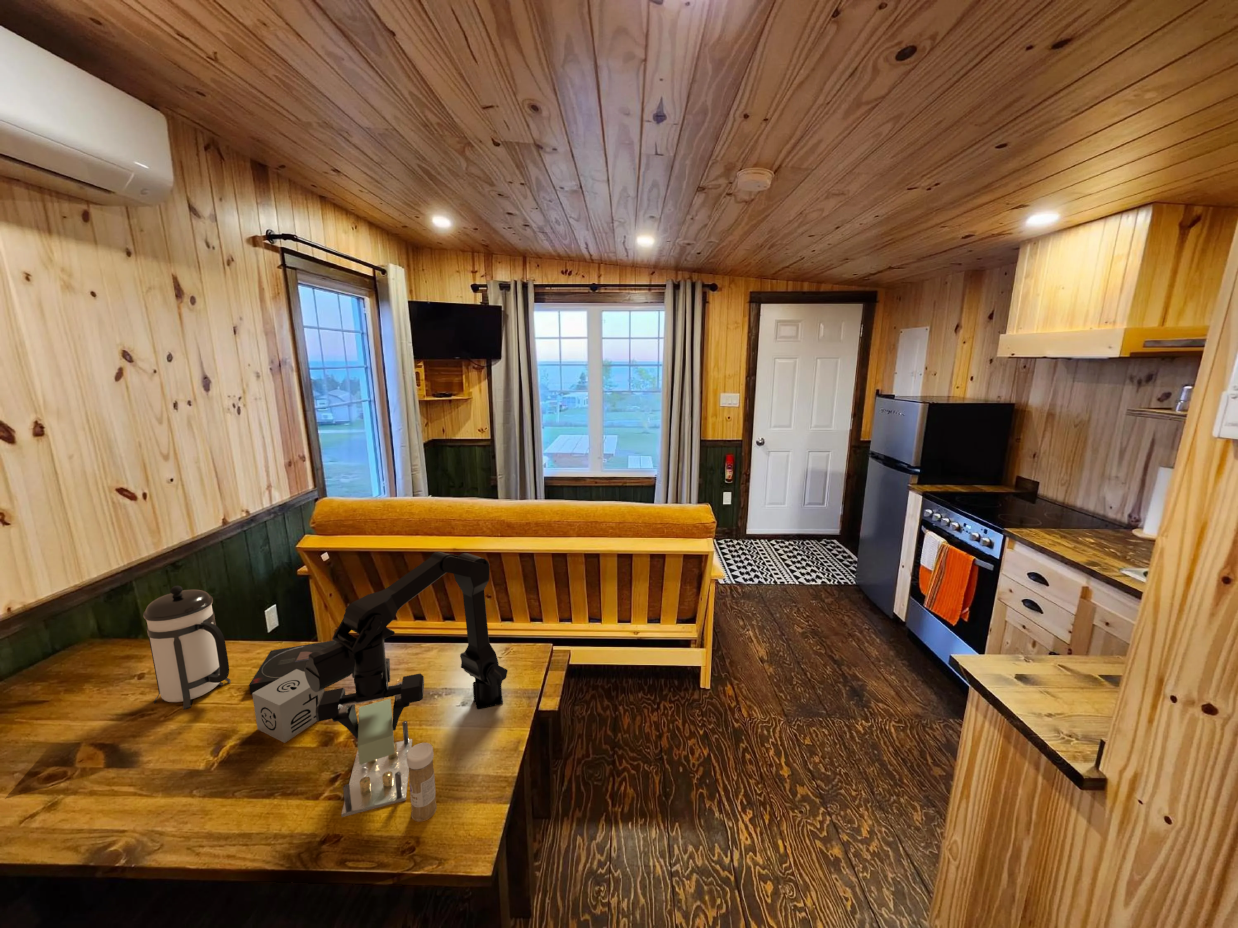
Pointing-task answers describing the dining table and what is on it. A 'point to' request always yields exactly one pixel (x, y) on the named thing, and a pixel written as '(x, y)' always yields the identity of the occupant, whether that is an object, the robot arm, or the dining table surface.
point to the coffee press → (186, 645)
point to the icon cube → (286, 706)
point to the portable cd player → (284, 663)
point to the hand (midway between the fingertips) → (376, 732)
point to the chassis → (378, 780)
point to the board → (375, 731)
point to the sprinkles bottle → (421, 781)
